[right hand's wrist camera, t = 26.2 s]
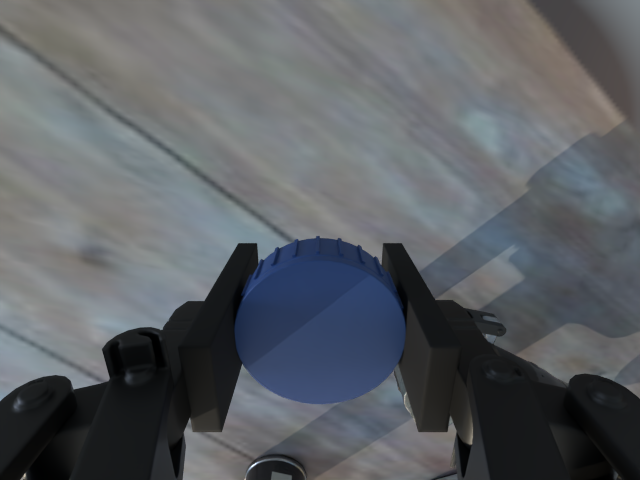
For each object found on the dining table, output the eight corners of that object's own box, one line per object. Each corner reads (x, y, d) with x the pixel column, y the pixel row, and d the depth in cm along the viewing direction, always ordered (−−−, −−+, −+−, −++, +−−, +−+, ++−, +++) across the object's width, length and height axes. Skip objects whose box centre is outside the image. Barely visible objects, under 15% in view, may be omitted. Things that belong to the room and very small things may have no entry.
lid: (301, 203, 11) (297, 221, 9) (428, 291, 12) (446, 322, 10) (215, 321, 12) (199, 354, 11) (335, 389, 14) (337, 429, 12)
